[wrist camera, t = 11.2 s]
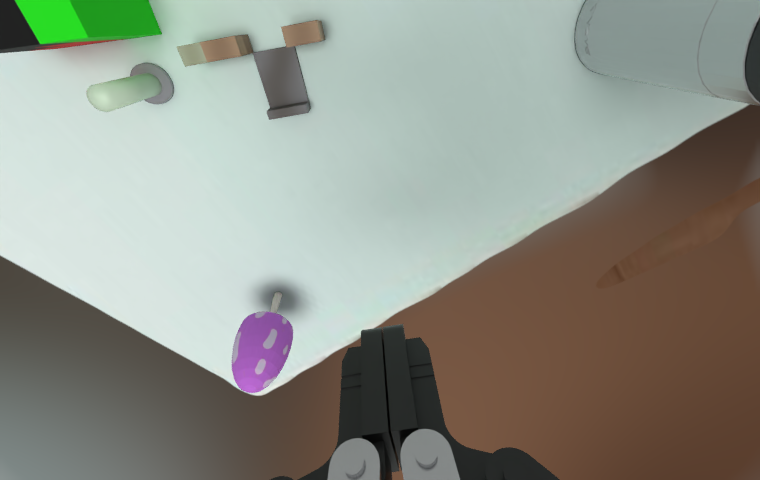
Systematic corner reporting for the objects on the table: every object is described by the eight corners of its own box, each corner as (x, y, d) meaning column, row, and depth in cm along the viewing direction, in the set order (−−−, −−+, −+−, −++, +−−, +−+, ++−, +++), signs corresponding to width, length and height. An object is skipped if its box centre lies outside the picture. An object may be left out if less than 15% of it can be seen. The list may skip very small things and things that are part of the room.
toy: (309, 302, 50) (293, 397, 37) (271, 316, 51) (242, 413, 38) (285, 270, 46) (257, 363, 34) (244, 286, 47) (203, 381, 35)
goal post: (162, 59, 32) (109, 69, 25) (180, 99, 34) (135, 118, 27) (126, 66, 32) (64, 77, 25) (146, 105, 34) (93, 125, 27)
